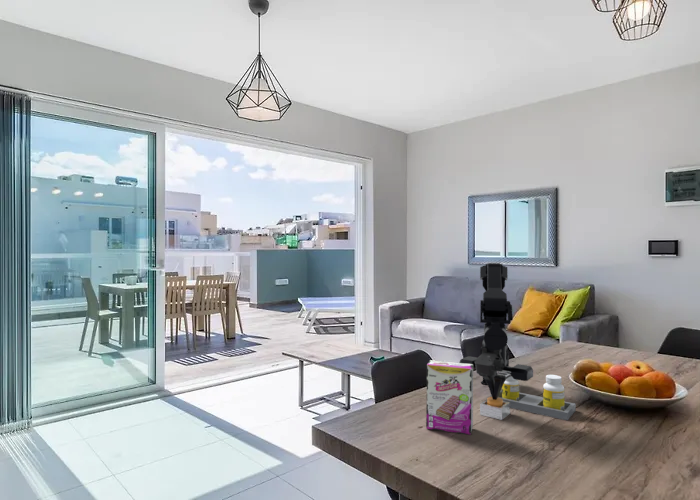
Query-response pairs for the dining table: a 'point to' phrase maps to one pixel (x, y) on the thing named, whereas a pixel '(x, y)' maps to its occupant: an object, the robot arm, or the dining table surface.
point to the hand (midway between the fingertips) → (495, 399)
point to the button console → (495, 410)
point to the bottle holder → (539, 406)
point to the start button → (495, 402)
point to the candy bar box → (449, 397)
